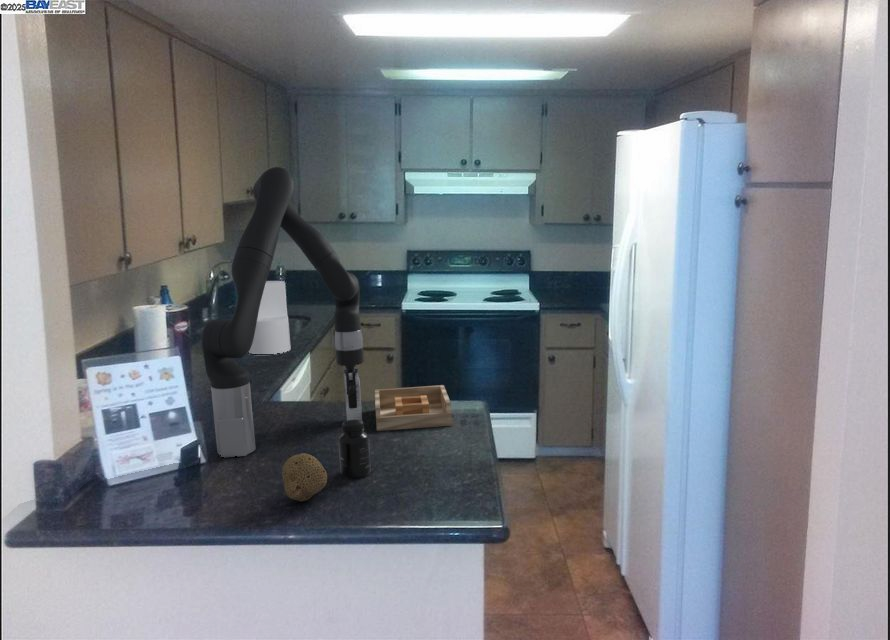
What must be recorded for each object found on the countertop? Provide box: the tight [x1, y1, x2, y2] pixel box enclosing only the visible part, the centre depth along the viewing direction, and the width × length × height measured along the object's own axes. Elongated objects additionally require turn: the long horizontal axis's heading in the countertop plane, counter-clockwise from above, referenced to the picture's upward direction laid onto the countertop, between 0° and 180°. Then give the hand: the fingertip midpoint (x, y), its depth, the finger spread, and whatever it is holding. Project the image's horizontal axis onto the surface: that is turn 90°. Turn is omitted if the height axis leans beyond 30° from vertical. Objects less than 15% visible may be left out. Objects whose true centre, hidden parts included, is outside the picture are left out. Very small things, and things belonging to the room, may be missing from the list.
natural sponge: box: [281, 452, 328, 502], centre depth 155 cm, size 9×9×10 cm
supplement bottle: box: [338, 420, 372, 480], centre depth 168 cm, size 7×7×12 cm
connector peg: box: [344, 376, 363, 421], centre depth 207 cm, size 4×4×12 cm
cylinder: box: [249, 280, 292, 355], centre depth 309 cm, size 17×17×28 cm
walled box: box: [374, 384, 453, 432], centre depth 209 cm, size 20×20×6 cm
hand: (353, 403), depth 208 cm, fingers open, 8 cm apart
